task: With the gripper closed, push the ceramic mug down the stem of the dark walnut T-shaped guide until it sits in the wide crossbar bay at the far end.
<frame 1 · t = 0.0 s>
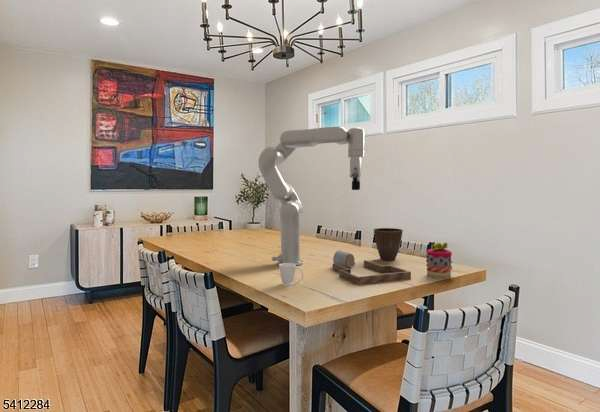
hand: (356, 189, 190), 37 cm above the table, tool pointing down, fingers open, 9 cm apart
cake: (438, 276, 172), on the table
plant pot: (387, 260, 208), on the table
cup: (291, 285, 157), on the table
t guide: (362, 273, 177), on the table
ceramic mug: (345, 267, 192), on the table
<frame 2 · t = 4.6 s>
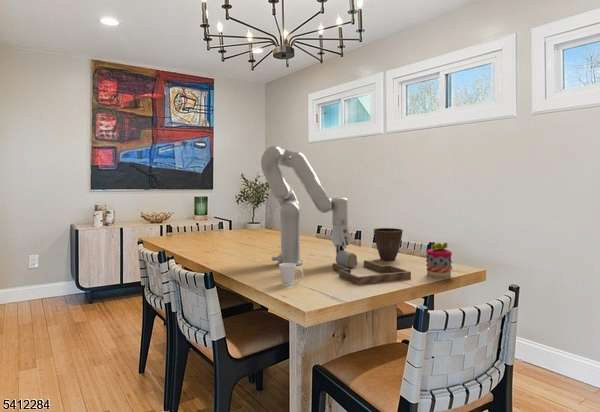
hand: (340, 258, 197), 3 cm above the table, tool pointing down, fingers closed
ceramic mug: (347, 266, 192), on the table, touching gripper
everything else where it was.
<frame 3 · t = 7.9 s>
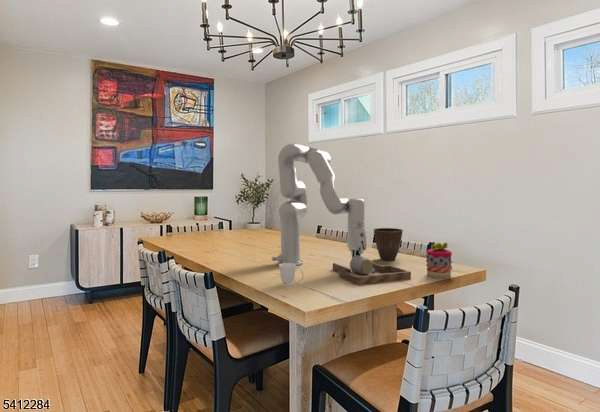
hand: (355, 264, 182), 3 cm above the table, tool pointing down, fingers closed
ceramic mug: (363, 273, 177), on the table, touching gripper
everything else where it was.
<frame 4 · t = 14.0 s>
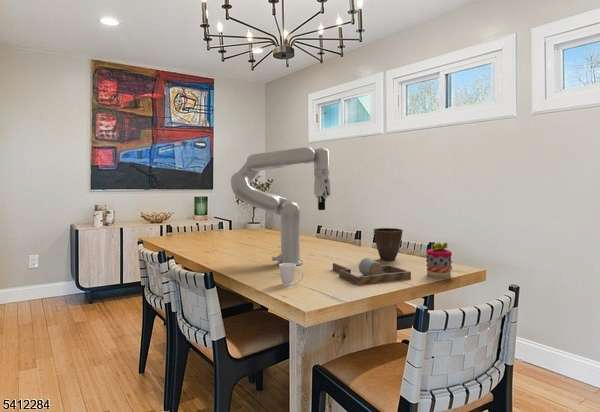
hand: (321, 209, 198), 27 cm above the table, tool pointing down, fingers closed
ceramic mug: (373, 276, 171), on the table
everything else where it was.
at the end: ceramic mug inside the target area on the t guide (3.1 cm from its centre), point 0.0 cm above the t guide's base; ceramic mug tilted 0° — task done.
